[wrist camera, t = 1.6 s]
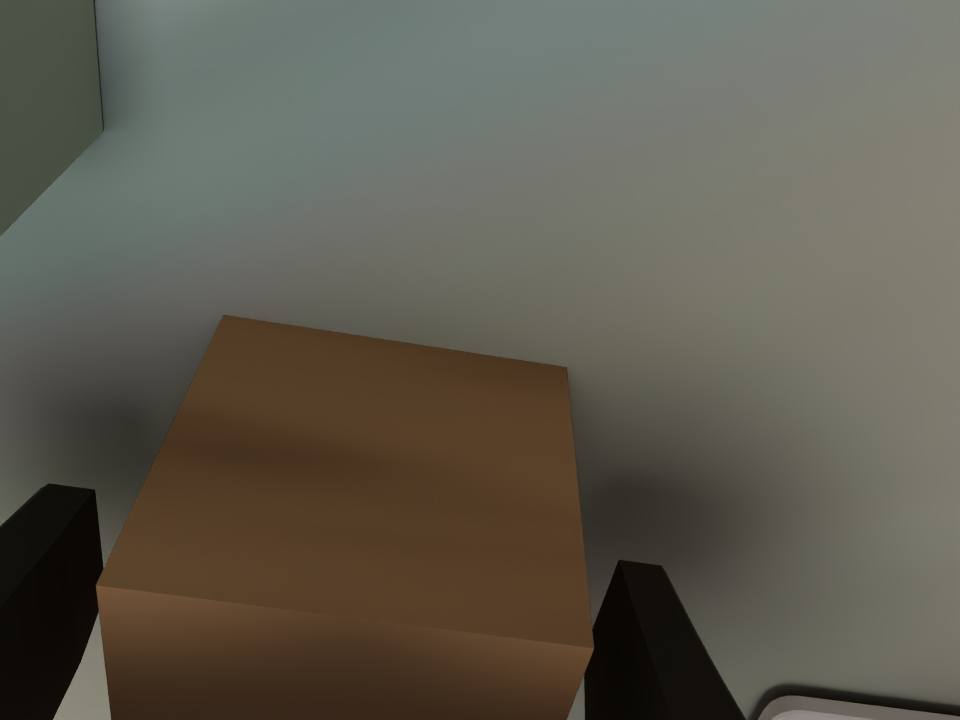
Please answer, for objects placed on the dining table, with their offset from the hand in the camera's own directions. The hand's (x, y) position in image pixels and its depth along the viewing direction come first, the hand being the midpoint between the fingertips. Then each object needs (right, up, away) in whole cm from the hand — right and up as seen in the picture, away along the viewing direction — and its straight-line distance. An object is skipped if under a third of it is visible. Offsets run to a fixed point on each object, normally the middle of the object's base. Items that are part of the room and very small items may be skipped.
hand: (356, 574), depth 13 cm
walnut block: (0, +1, +2) cm, 2 cm away
